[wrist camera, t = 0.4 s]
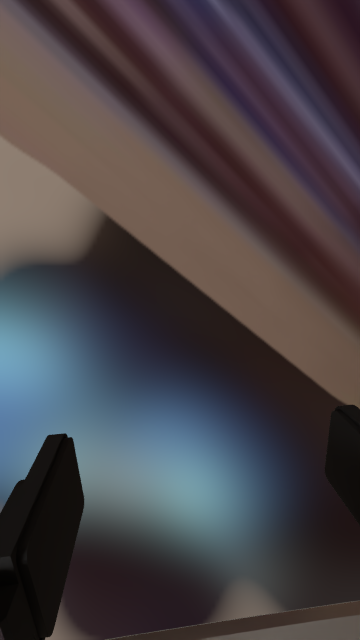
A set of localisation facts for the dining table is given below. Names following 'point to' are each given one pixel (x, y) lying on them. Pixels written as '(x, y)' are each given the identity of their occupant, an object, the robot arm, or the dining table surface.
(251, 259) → the dining table surface
